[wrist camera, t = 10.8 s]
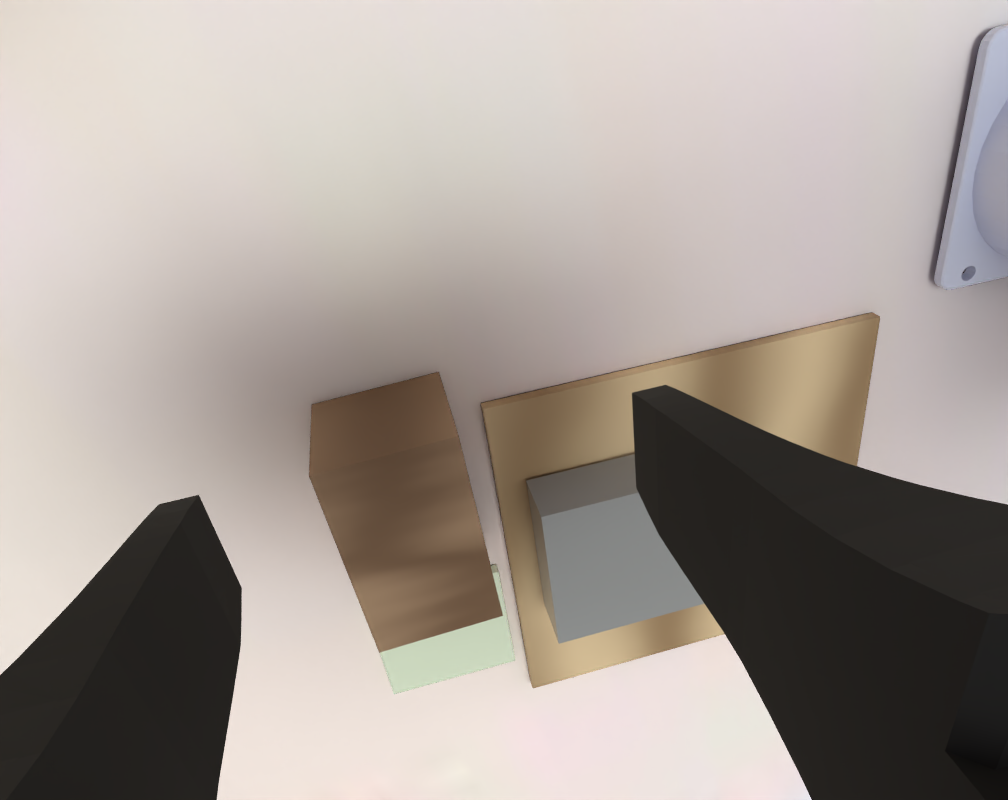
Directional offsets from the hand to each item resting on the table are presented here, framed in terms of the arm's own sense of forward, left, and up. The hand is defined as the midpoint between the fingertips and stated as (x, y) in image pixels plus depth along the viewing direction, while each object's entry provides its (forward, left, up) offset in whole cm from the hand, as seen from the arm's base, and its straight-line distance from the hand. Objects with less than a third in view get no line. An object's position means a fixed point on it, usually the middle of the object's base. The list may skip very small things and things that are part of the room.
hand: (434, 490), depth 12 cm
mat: (-9, +12, -10) cm, 18 cm away
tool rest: (+1, +14, -10) cm, 17 cm away
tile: (-7, +8, -8) cm, 13 cm away
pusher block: (+1, +10, -8) cm, 13 cm away
